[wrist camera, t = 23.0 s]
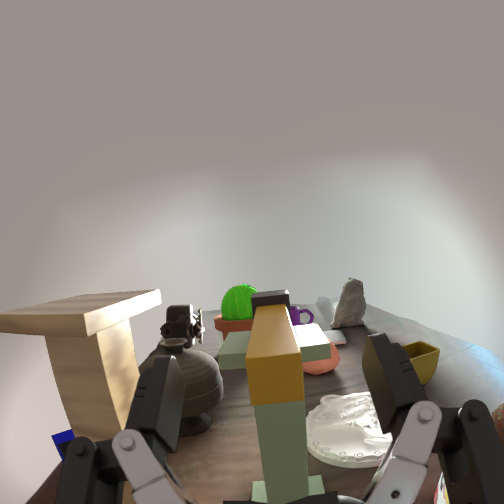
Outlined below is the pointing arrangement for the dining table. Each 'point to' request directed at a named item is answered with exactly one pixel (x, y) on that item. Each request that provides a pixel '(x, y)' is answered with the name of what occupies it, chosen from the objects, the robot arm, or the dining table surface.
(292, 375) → the yellow bar
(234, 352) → the green pedestal stand
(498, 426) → the donut
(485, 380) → the dining table surface
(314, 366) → the sugar bowl
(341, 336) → the smartphone
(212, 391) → the pot
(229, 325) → the potted cactus
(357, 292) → the figurine
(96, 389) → the wooden pedestal
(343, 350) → the dining table surface
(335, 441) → the medallion
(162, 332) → the camera
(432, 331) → the dining table surface
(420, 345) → the flower pot
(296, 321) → the mug
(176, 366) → the robot arm
